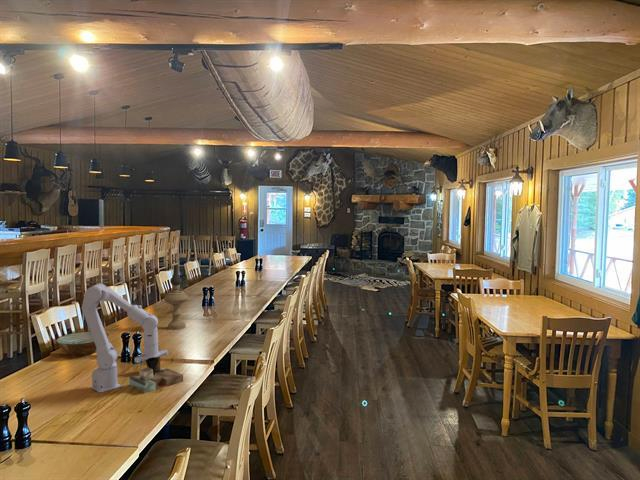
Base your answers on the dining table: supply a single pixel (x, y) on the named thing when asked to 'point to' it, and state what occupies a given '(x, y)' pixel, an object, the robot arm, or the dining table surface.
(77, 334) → the bowl
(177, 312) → the oil lamp
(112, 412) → the dining table surface
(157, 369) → the condiment
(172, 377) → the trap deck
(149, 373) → the block
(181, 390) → the dining table surface
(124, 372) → the dining table surface
